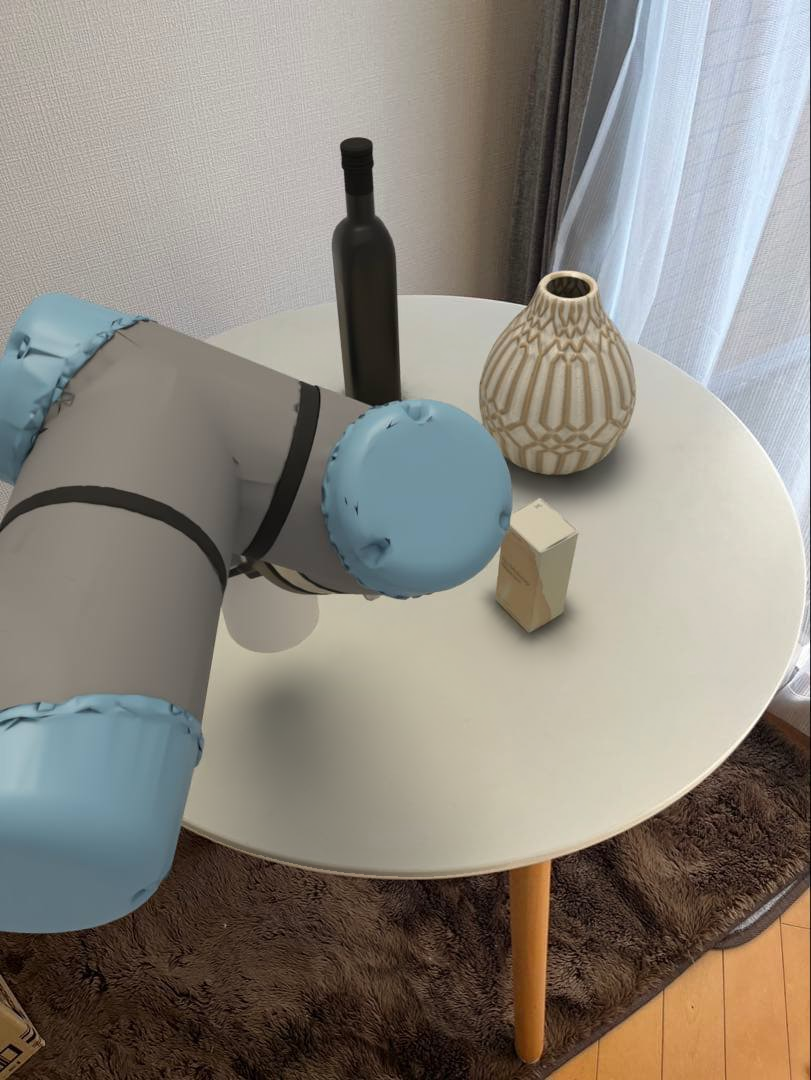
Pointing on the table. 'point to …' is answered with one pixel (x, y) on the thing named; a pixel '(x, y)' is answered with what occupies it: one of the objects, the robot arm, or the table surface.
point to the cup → (267, 614)
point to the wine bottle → (366, 286)
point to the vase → (558, 380)
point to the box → (535, 564)
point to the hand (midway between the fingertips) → (244, 545)
